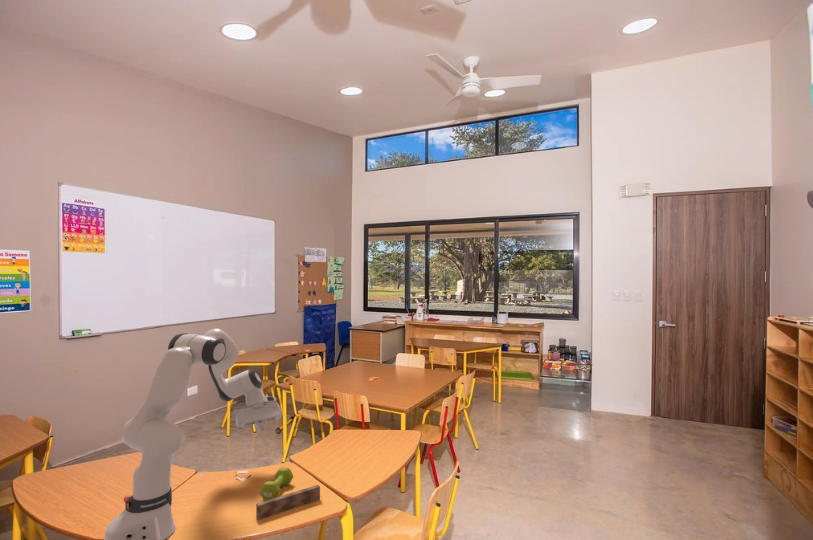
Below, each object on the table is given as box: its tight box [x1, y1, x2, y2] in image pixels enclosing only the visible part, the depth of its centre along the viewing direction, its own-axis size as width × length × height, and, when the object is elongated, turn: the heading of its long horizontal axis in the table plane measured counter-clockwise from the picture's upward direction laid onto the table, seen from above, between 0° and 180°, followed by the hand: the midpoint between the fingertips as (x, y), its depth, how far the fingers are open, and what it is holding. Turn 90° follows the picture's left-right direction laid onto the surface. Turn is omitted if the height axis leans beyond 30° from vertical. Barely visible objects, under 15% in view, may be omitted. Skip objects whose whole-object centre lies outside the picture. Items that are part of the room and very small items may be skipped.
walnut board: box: [255, 484, 321, 521], centre depth 157 cm, size 24×2×5 cm, turn 125°
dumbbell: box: [259, 467, 294, 501], centre depth 169 cm, size 16×8×7 cm, turn 172°
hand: (262, 430), depth 186 cm, fingers closed
